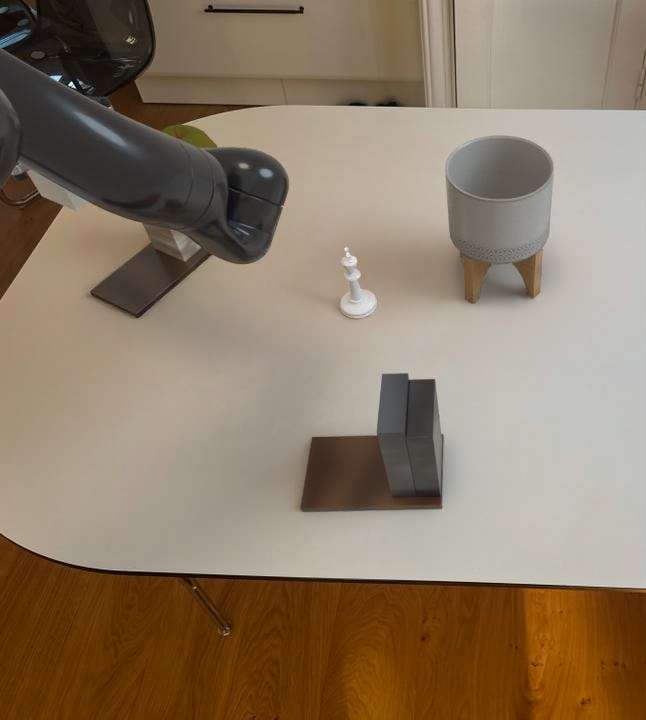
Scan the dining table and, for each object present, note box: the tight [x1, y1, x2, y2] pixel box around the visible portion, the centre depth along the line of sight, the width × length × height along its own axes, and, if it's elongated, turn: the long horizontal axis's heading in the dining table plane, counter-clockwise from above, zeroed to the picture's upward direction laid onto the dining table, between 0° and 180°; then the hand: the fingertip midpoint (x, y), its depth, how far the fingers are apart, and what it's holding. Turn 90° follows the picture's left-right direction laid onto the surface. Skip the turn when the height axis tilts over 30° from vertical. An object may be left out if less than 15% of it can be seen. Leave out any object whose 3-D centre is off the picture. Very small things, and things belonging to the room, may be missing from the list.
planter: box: [444, 134, 555, 304], centre depth 91 cm, size 13×13×18 cm
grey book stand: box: [299, 372, 445, 513], centre depth 73 cm, size 15×9×13 cm, turn 91°
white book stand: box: [89, 223, 213, 319], centre depth 94 cm, size 17×9×13 cm, turn 151°
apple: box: [160, 124, 218, 148], centre depth 107 cm, size 10×10×11 cm
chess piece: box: [339, 247, 378, 319], centre depth 90 cm, size 5×5×10 cm
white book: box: [26, 170, 90, 212], centre depth 78 cm, size 3×6×12 cm, turn 61°
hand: (5, 115), depth 76 cm, fingers closed on white book, 2 cm apart
